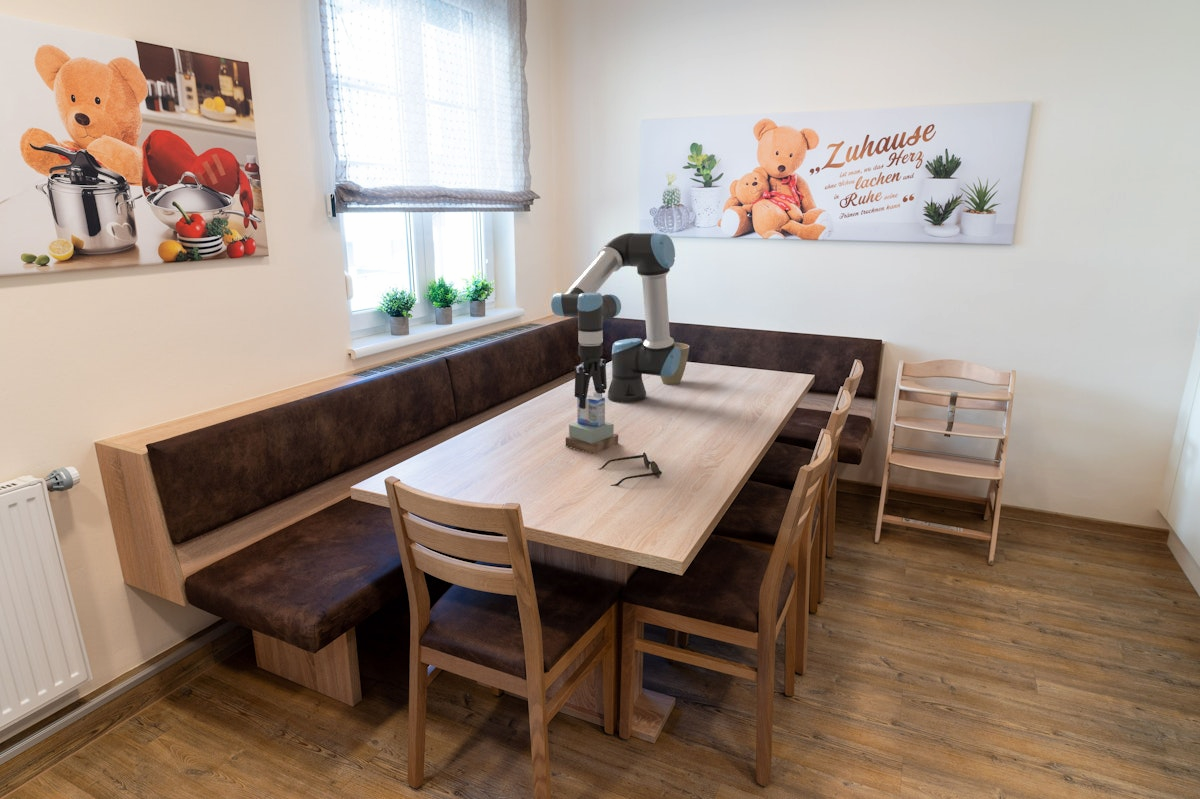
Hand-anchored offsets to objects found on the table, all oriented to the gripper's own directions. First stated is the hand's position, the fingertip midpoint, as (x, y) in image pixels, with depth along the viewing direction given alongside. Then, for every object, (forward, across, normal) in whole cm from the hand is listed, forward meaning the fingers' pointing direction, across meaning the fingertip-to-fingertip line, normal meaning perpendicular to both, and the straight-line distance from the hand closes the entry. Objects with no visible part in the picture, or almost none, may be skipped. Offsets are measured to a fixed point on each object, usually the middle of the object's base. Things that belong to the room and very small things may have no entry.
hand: (591, 415), depth 228 cm
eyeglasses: (+11, +14, +24) cm, 30 cm away
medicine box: (+3, 0, 0) cm, 3 cm away
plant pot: (+10, -82, -20) cm, 85 cm away
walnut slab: (+11, 0, 0) cm, 11 cm away
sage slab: (+7, 0, 0) cm, 7 cm away
